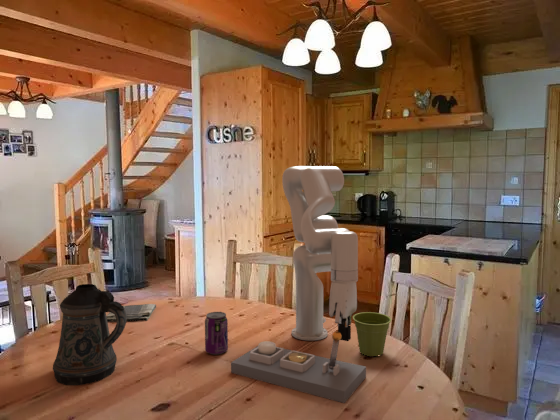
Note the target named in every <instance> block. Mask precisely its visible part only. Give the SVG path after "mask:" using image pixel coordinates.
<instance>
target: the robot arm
mask: <svg viewBox="0 0 560 420" xmlns="http://www.w3.org/2000/svg"><path fill="white" fill-rule="evenodd" d="M344 184H345V176H344V173H343V171H342V170H341V168H339V167H338V166H333V165H331V166H330V165H329V166H328V165H326V166H325V165H323V166H322V165H319V166H318V165H315V166H311V165H296V166H295V165H294V166H290V167H288V168H286V169H285V170H284V171H283V174H282V188H283V193H284V196H285V198H286V199H287V202H288V205H289V208H290V215H291V222H292V229H293V235H294V238H295V240H296V241H297V242H300V243H304V245H303V244H302V245H300V246H298V247H297V248H295V250H294V251H293V254H292V255H293V256H292V260H293V268H294V275H295V327H294V328H292V329H291V336H292V337H293V338H295V339H297V340H302V341H309V342H310V341H311V342H312V341H320V340H324V339H325V338H327V337H328V334H329V333H328V330H327V329H326V328H325V327H324V323H326V322H327V319H326V318H325V316H324V284H323V282H322V280H321V279H320V278H319V276H318V274H317V273H326V272H330V281H331V283H330V291H329V309H328V315H329V317H331V318H333V317H335V319H334V322H335V324H336V325H337V331H339V332H340V333H341V335H342V338H341V340H340V341H344V342H349V341H350V340H351V339H352V337H351V334H352V332H351V331H352V326H351V325H352V317H353V315H354V313H355V312H356V311H357V308H358V295H357V294H358V292H357V282H358V281H359V238H358V234H357V233H356V232H354V231H350V230H349V229H348V228H345V227H339V224H338V222H337V220H336V218H335V217H333V216H331V215H326V214H327V213H329V212H331V211H332V210H333V208H334V207H335V205H336V204H335V203H336V200H335V198H334V195H333V192H339V191H341V190H342V189H343V188H344Z"/></svg>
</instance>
